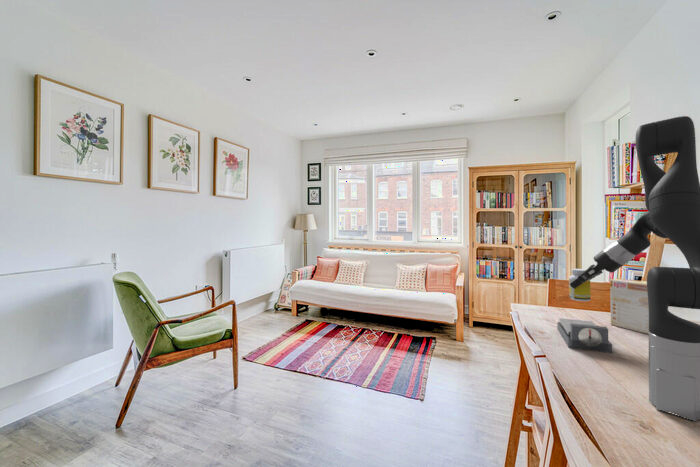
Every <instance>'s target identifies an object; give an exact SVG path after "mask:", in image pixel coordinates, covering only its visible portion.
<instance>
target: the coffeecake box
mask: <svg viewBox="0 0 700 467" xmlns="http://www.w3.org/2000/svg"><path fill="white" fill-rule="evenodd" d="M609 282H610V284H609V285H610V286H609V287H610V288H609V289H610V292H609V293H610V325H611V326H615V327H620V328H623V329H627V330H631V331H636V332H639V333H643V334H647V335H649V305H648V293H647V281H646V280H645V281H643V280H635V279H629V278H627V279H626V278H621V277H620V278H611V279H610V280H609Z"/></svg>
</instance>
